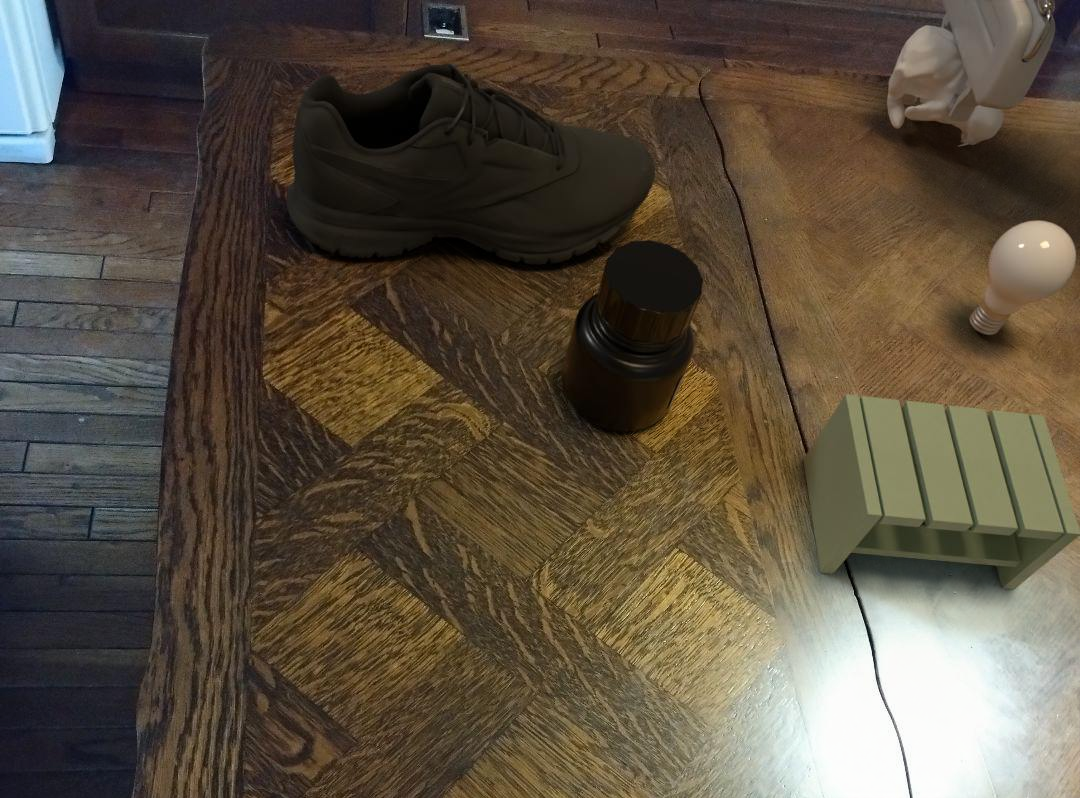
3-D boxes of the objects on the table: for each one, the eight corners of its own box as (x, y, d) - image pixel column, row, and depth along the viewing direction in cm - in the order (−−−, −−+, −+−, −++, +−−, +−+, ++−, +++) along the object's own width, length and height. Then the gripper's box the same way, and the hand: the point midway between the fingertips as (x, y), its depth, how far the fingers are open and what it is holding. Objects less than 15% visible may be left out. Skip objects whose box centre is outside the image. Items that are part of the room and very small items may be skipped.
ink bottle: (696, 415, 76) (747, 306, 66) (602, 454, 73) (640, 346, 63) (628, 328, 80) (667, 212, 70) (536, 361, 77) (562, 244, 67)
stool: (984, 477, 78) (1044, 415, 71) (1014, 589, 73) (1081, 534, 66) (802, 459, 76) (845, 393, 69) (820, 573, 71) (868, 514, 64)
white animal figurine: (928, 4, 93) (1041, 66, 92) (882, 82, 100) (986, 140, 100) (908, 35, 90) (1025, 99, 89) (863, 113, 97) (970, 173, 96)
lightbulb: (1003, 368, 84) (1082, 273, 75) (935, 331, 85) (1005, 234, 76) (1023, 325, 87) (1102, 229, 78) (958, 290, 88) (1028, 191, 79)
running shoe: (657, 263, 84) (703, 126, 73) (299, 289, 77) (287, 141, 65) (620, 172, 90) (657, 31, 78) (282, 188, 82) (267, 35, 71)
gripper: (1094, 20, 78) (1002, 165, 90) (1032, -113, 89) (957, 32, 101) (1020, 9, 78) (937, 156, 89) (966, -124, 88) (898, 24, 100)
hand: (947, 89), depth 95 cm, fingers closed on white animal figurine, 6 cm apart
